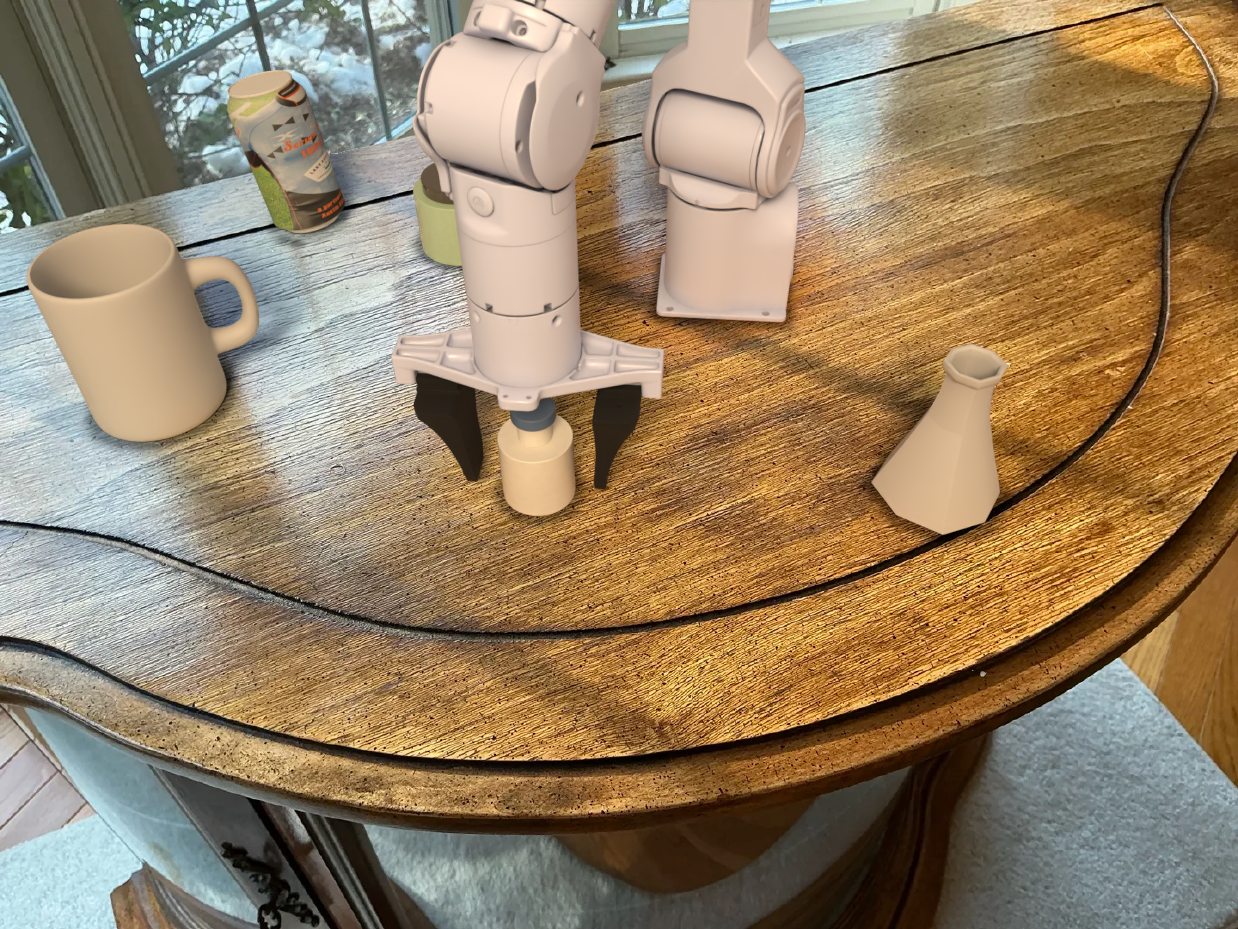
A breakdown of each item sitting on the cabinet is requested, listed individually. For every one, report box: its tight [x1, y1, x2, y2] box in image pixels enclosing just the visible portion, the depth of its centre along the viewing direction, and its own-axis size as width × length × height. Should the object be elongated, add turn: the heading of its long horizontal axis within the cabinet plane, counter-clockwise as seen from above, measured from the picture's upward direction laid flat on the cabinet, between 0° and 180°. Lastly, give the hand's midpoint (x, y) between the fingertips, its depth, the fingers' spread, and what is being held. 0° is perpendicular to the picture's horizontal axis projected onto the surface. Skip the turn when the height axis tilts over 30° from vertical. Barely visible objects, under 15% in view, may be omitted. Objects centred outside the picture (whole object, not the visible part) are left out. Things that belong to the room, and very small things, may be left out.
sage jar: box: [412, 162, 462, 267], centre depth 78 cm, size 7×7×6 cm
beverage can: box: [226, 69, 346, 234], centre depth 78 cm, size 6×7×12 cm
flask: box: [870, 343, 1009, 535], centre depth 56 cm, size 7×7×10 cm
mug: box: [26, 223, 260, 443], centre depth 63 cm, size 12×8×11 cm
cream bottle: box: [496, 397, 577, 517], centre depth 58 cm, size 4×4×7 cm
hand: (538, 473), depth 59 cm, fingers open, 7 cm apart
